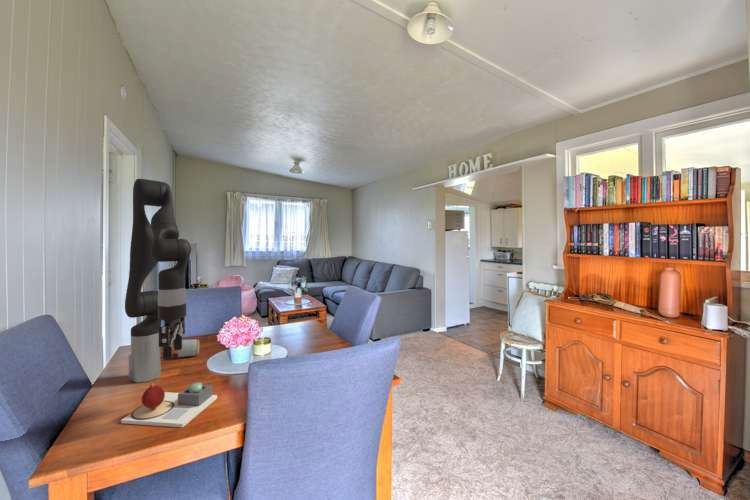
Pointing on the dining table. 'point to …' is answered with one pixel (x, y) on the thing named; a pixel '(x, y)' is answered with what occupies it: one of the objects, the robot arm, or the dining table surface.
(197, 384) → the button
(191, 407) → the picture board
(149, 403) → the onion
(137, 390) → the dining table surface
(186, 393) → the button housing
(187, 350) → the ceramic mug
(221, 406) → the dining table surface
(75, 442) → the dining table surface
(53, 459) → the dining table surface
